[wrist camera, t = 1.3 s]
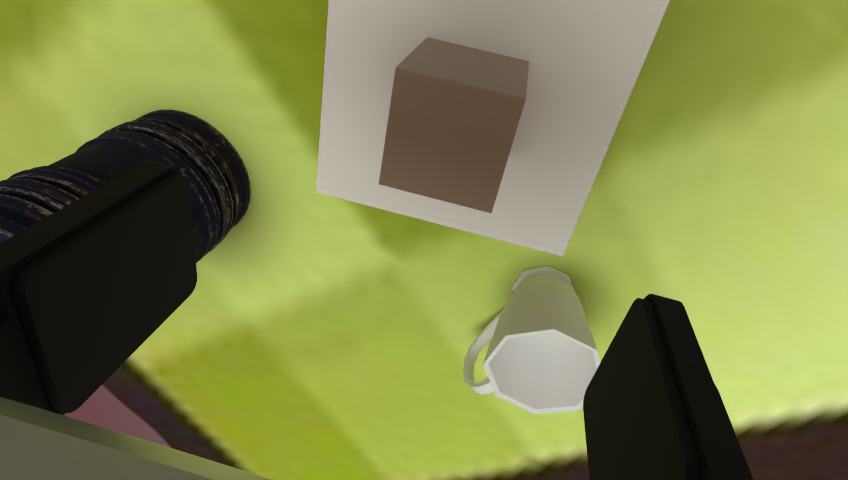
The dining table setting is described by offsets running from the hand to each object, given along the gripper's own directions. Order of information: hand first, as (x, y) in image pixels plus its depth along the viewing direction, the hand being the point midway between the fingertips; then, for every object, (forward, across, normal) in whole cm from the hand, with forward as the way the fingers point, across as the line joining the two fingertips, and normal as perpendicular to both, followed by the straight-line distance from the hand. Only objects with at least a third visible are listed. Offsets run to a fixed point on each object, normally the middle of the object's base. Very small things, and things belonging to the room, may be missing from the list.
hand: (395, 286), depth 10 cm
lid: (+13, 0, -1) cm, 13 cm away
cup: (+22, -7, +15) cm, 27 cm away
